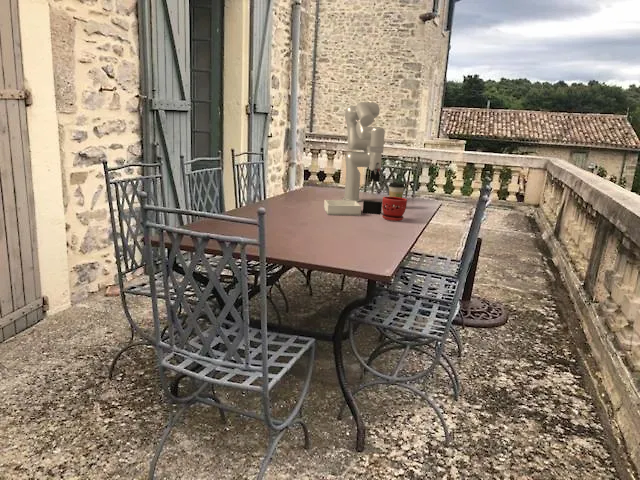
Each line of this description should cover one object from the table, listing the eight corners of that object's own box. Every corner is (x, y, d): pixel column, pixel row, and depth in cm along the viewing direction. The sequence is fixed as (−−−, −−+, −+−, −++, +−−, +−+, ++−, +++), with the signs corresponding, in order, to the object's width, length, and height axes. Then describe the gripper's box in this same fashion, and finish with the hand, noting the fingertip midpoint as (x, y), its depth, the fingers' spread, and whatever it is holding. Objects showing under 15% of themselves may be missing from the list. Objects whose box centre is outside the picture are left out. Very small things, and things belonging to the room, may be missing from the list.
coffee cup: (403, 209, 297) (406, 184, 294) (387, 208, 298) (389, 184, 294) (401, 206, 307) (403, 182, 303) (386, 205, 307) (388, 181, 303)
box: (324, 209, 284) (324, 199, 283) (355, 210, 287) (355, 200, 285) (327, 214, 268) (328, 205, 267) (360, 215, 271) (361, 206, 269)
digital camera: (381, 213, 282) (382, 201, 280) (380, 214, 277) (381, 202, 275) (364, 211, 284) (365, 199, 283) (362, 213, 279) (363, 201, 277)
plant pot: (404, 222, 258) (406, 200, 255) (380, 220, 260) (381, 198, 257) (405, 218, 270) (407, 197, 267) (382, 216, 273) (383, 195, 270)
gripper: (366, 148, 280) (364, 178, 284) (373, 150, 263) (371, 182, 267) (379, 149, 281) (377, 178, 285) (386, 151, 264) (384, 182, 268)
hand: (374, 180), depth 276 cm, fingers open, 9 cm apart
